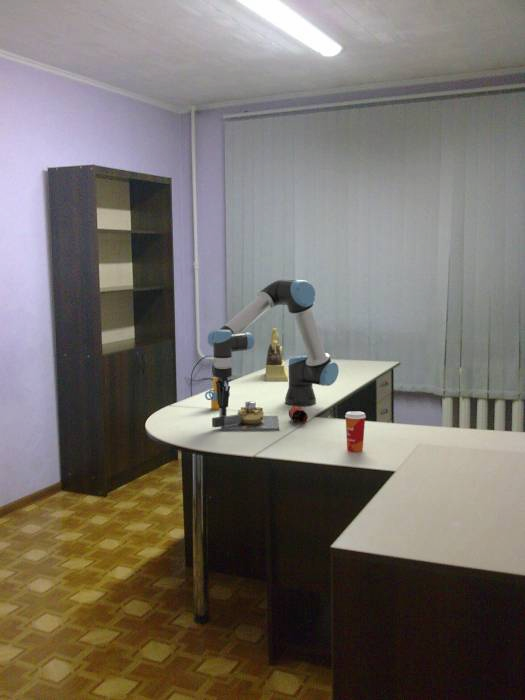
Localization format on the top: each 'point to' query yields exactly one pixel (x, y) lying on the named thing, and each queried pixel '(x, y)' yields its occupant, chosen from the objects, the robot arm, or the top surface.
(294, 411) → the beverage can
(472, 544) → the top surface
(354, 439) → the paper cup
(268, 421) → the flat plate
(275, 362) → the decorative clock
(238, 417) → the brass knob with lugs
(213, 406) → the cylinder
